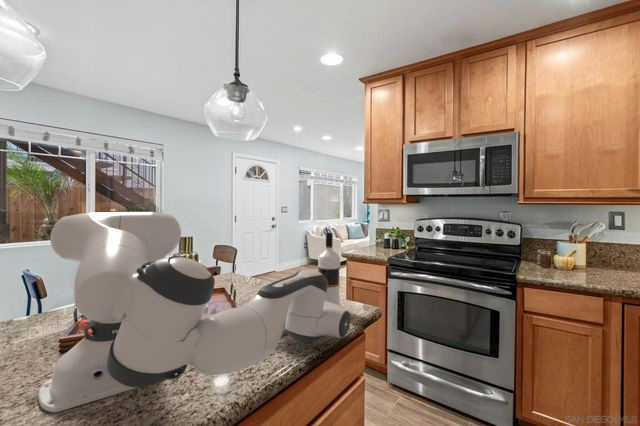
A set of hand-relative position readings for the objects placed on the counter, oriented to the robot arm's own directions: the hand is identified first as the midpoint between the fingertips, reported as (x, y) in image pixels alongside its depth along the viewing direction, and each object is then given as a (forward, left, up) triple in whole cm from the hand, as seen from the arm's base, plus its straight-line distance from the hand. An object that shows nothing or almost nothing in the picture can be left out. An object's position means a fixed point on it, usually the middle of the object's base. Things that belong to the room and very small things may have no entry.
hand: (277, 299), depth 103 cm
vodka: (+21, -5, -9) cm, 23 cm away
